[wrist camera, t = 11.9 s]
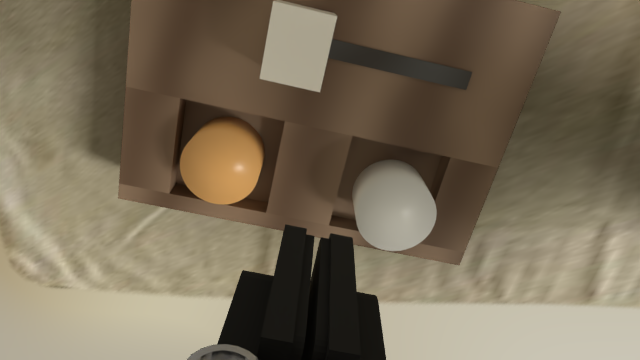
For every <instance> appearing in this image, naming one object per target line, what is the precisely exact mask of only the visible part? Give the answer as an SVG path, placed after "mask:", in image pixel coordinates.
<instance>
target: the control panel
mask: <svg viewBox="0 0 640 360" xmlns="http://www.w3.org/2000/svg"><path fill="white" fill-rule="evenodd" d="M273 1H275V0H131V14H130V29H129V44H128V59H127V74H126V89H125V104H124V119H123V134H122V149H121V164H120V179H119V194H118V198H120V199H125V200H130V201H135V202H140V203H145V204H150V205H155V206H160V207H165V208H170V209H175V210H181V211H186V212H191V213H196V214H201V215H206V216H211V217H216V218H221V219H226V220H231V221H237V222H242V223H247V224H252V225H257V226H262V227H267V228H272V229H277V230H282V231H284V228H285V224H286V225H292V226H297V227H302V228H307V232H306V234H307V235H312V236H314V237H318V238H321V237H323V238H328V239H329V236H330V233H333V234H338V235H343V236H348V237H352V238H353V244H354V245H359V246H364V247H369V248H374V249H379V248H376V247H374V246H373V245H371V244H370V243H368V242H367V241H366V240H365V239H364V238H363V237H362V235H361V234H360V232H359V230H358V227H357V223H356V217H355V211H354V205H353V199H352V190H353V186H354V183H355V181H356V179H357V177H358V176H359V174H360V173H361V172H362V171H363V170H364V169H365V168H367V167H368V166H370V165H372V164H374V163H376V162H379V161H383V160H399V161H402V162H405V163H407V164H409V165H411V166H412V167H413V168H415V169H416V170H417V171H418V173H419V174H420V176H421V177H422V179H423V181H424V183H425V184H426V186H427V188H428V190H429V192H430V193H431V195H432V197H433V199H434V201H435V204H436V210H437V215H436V221H435V224H434V227H433V229H432V230H431V232H430V233H429V235H428V236H427V237H426V238H425V239H424V240H423V241H422V242H420V243H419V244H417V245H416V246H414V247H411V248H409V249H406V250H401V251H389V252H394V253H399V254H404V255H409V256H415V257H420V258H425V259H430V260H435V261H440V262H445V263H450V264H455V265H460V262H461V260H462V257H463V255H464V252H465V250H466V247H467V245H468V242H469V240H470V237H471V235H472V232H473V230H474V227H475V225H476V222H477V220H478V217H479V215H480V212H481V210H482V207H483V205H484V202H485V200H486V197H487V195H488V192H489V190H490V187H491V185H492V182H493V180H494V177H495V175H496V172H497V170H498V167H499V165H500V162H501V160H502V157H503V155H504V152H505V150H506V148H507V145H508V143H509V140H510V138H511V135H512V133H513V130H514V128H515V125H516V123H517V120H518V118H519V115H520V113H521V110H522V108H523V105H524V103H525V100H526V98H527V95H528V93H529V90H530V88H531V85H532V83H533V80H534V78H535V75H536V73H537V70H538V68H539V65H540V63H541V60H542V58H543V55H544V53H545V50H546V48H547V45H548V43H549V40H550V38H551V35H552V33H553V30H554V28H555V25H556V23H557V21H558V18H559V16H560V13H561V12H560V11H556V10H552V9H548V8H544V7H540V6H537V5H533V4H529V3H525V2H521V1H517V0H282V1H286V2H290V3H295V4H299V5H303V6H307V7H311V8H315V9H319V10H323V11H328V12H332V13H335V14H336V15H337V20H336V24H335V29H334V33H333V38H332V42H331V46H330V51H329V55H328V59H327V64H326V68H325V73H324V77H323V81H322V86H321V90H320V92H316V91H311V90H307V89H302V88H298V87H294V86H289V85H285V84H280V83H276V82H271V81H267V80H263V79H260V73H261V67H262V62H263V56H264V50H265V45H266V39H267V33H268V28H269V22H270V16H271V10H272V5H273ZM218 117H235V118H238V119H241V120H243V121H245V122H247V123H249V124H250V125H251V126H252V127H253V128H254V129H255V130H256V131H257V132H258V133H259V135H260V137H261V139H262V141H263V144H264V149H265V157H264V162H263V165H262V168H261V171H260V175H259V178H258V181H257V183H256V186H255V187H254V189H253V190H252V192H251V193H250V194H249V195H248V196H247V197H245V198H244V199H242V200H240V201H238V202H235V203H232V204H224V205H223V204H213V203H210V202H207V201H204V200H202V199H200V198H199V197H197V196H196V195H195V194H194V193H192V192H191V191H190V189H189V188H188V187H187V186H186V184H185V182H184V180H183V178H182V176H181V172H180V158H181V154H182V151H183V150H184V148H185V146H186V145H187V143H188V142H189V141H190V140H191V139H192V137H193V136H194V135H195V134H196V133H197V132H198V130H199V129H200V128H201V127H202V126H203V125H204V124H205V123H207V122H208V121H210V120H212V119H215V118H218ZM379 250H382V249H379ZM384 251H387V250H384Z"/></svg>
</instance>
